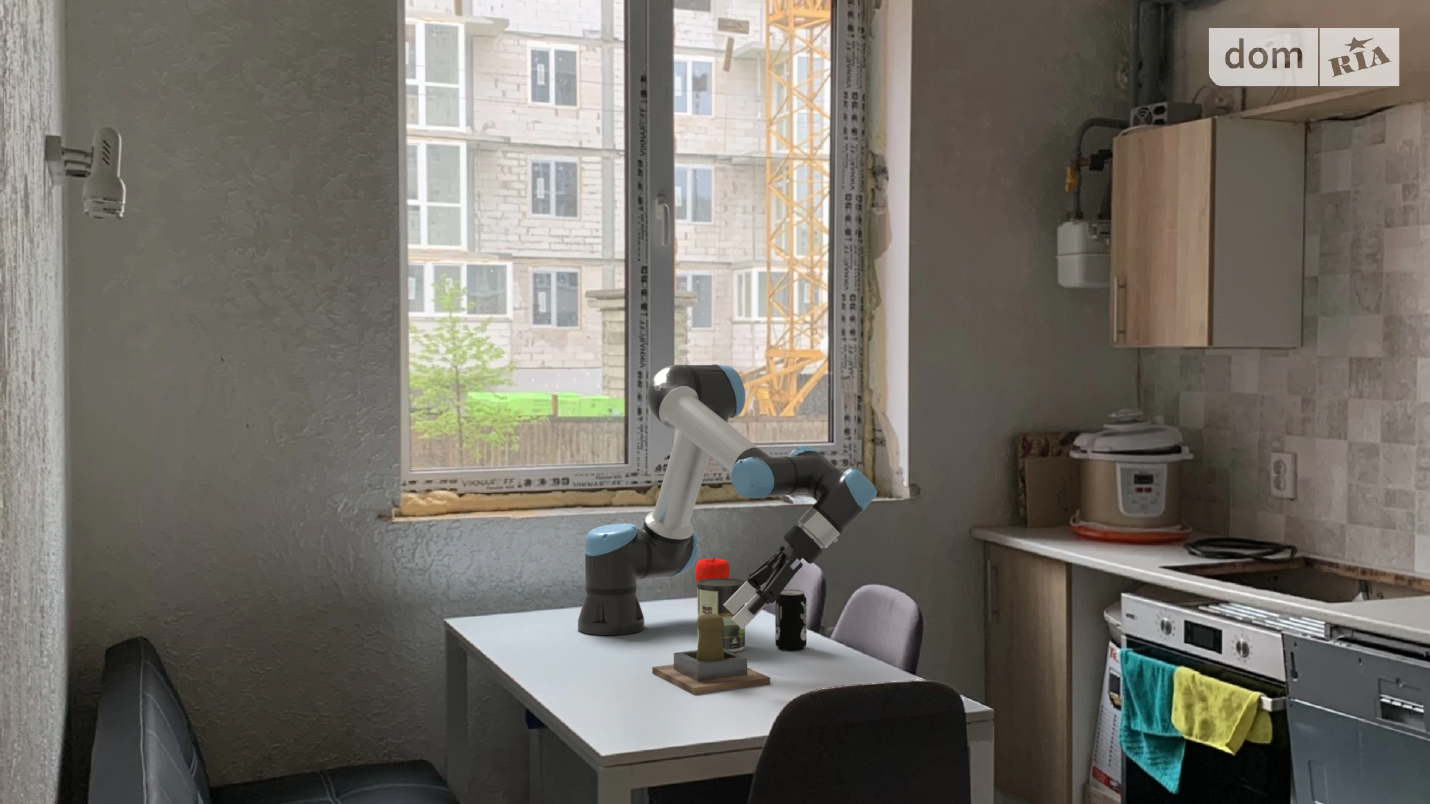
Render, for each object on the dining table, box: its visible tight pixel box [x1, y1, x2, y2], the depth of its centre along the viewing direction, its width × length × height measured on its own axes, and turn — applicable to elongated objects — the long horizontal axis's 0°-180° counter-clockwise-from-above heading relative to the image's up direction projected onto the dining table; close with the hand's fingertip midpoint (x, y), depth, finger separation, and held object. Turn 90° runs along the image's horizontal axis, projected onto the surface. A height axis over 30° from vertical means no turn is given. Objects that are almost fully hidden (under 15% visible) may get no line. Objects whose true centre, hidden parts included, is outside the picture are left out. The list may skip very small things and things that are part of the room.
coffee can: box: [696, 577, 746, 653], centre depth 258 cm, size 10×10×14 cm
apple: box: [694, 557, 731, 583], centre depth 313 cm, size 9×9×11 cm
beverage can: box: [774, 588, 808, 652], centre depth 258 cm, size 7×7×12 cm
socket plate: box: [651, 648, 771, 695], centre depth 232 cm, size 18×16×4 cm
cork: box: [696, 614, 725, 662], centre depth 232 cm, size 6×6×11 cm
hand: (732, 617), depth 231 cm, fingers open, 13 cm apart
